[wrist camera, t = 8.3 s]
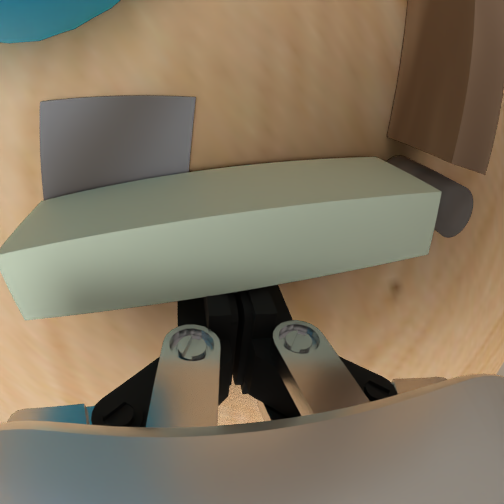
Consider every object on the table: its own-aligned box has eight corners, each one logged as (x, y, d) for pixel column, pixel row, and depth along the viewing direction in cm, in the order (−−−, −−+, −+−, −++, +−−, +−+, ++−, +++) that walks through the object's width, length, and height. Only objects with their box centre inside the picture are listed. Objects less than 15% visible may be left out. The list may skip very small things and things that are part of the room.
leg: (375, 157, 10) (441, 191, 7) (371, 207, 11) (427, 254, 8) (41, 201, 8) (-7, 255, 6) (58, 253, 10) (24, 319, 7)
